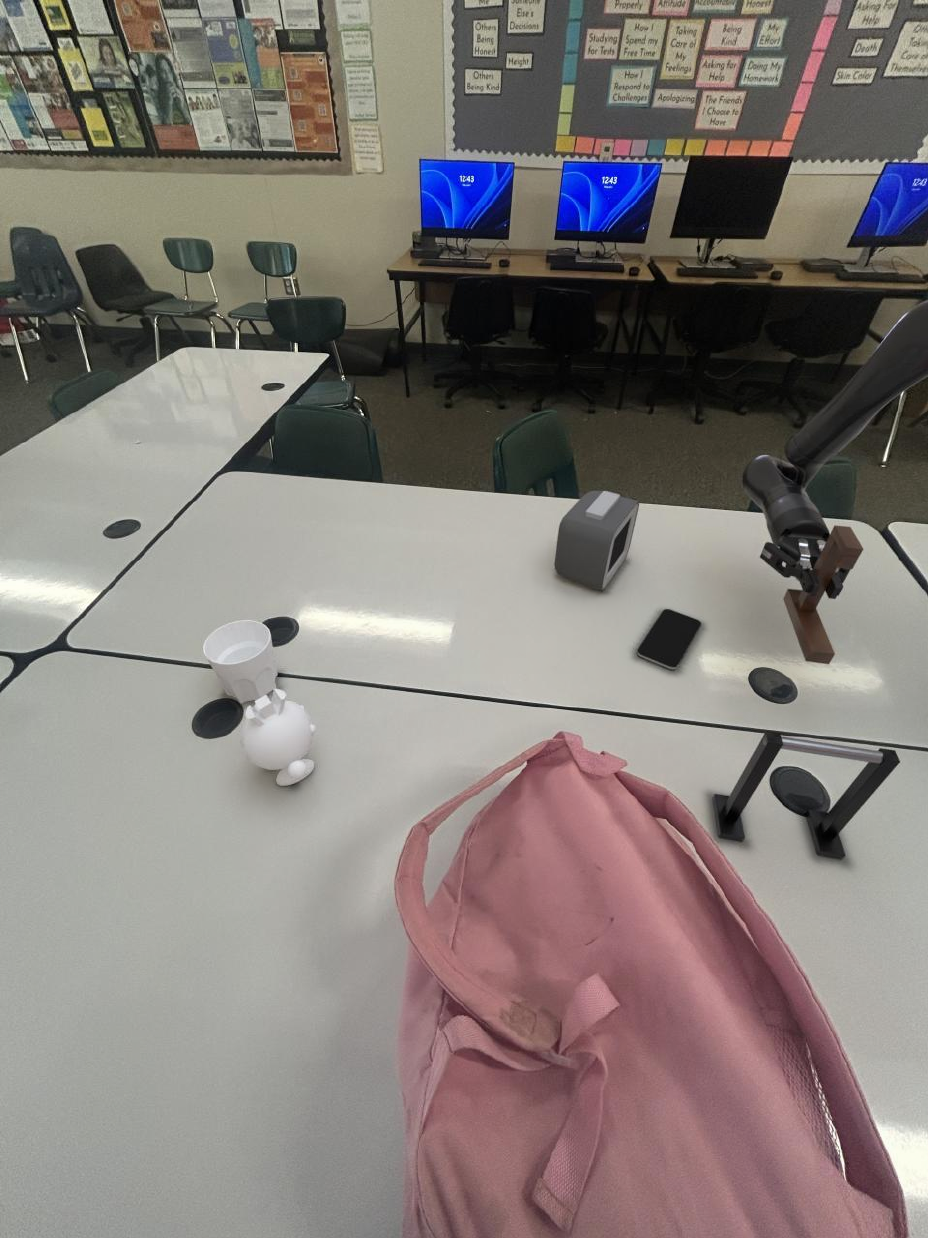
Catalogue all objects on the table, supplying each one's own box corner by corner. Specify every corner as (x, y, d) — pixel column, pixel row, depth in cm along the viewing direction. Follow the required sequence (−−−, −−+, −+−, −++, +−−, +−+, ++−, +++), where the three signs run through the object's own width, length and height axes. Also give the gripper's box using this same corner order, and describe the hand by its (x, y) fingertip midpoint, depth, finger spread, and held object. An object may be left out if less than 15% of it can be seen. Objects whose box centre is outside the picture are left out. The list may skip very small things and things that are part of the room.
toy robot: (343, 787, 79) (326, 720, 69) (278, 824, 75) (250, 759, 65) (300, 719, 88) (279, 651, 79) (239, 749, 84) (210, 681, 74)
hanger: (803, 601, 87) (847, 514, 77) (829, 664, 77) (883, 574, 67) (783, 598, 87) (823, 512, 77) (805, 661, 77) (855, 571, 67)
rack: (828, 816, 76) (894, 735, 64) (842, 859, 71) (915, 780, 60) (712, 797, 78) (755, 715, 66) (718, 837, 73) (765, 757, 62)
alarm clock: (600, 596, 112) (613, 528, 101) (548, 578, 116) (556, 512, 106) (627, 556, 122) (642, 491, 112) (579, 541, 127) (589, 477, 116)
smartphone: (703, 621, 105) (676, 669, 95) (702, 624, 105) (675, 671, 96) (664, 607, 108) (635, 652, 98) (663, 610, 108) (634, 654, 99)
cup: (296, 678, 95) (283, 635, 88) (248, 717, 89) (231, 673, 82) (256, 655, 99) (242, 612, 93) (208, 690, 93) (189, 647, 86)
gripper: (757, 501, 89) (781, 564, 76) (852, 510, 86) (894, 576, 74) (742, 542, 94) (762, 607, 81) (832, 551, 91) (867, 619, 79)
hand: (825, 592), depth 77 cm, fingers closed on hanger, 2 cm apart
